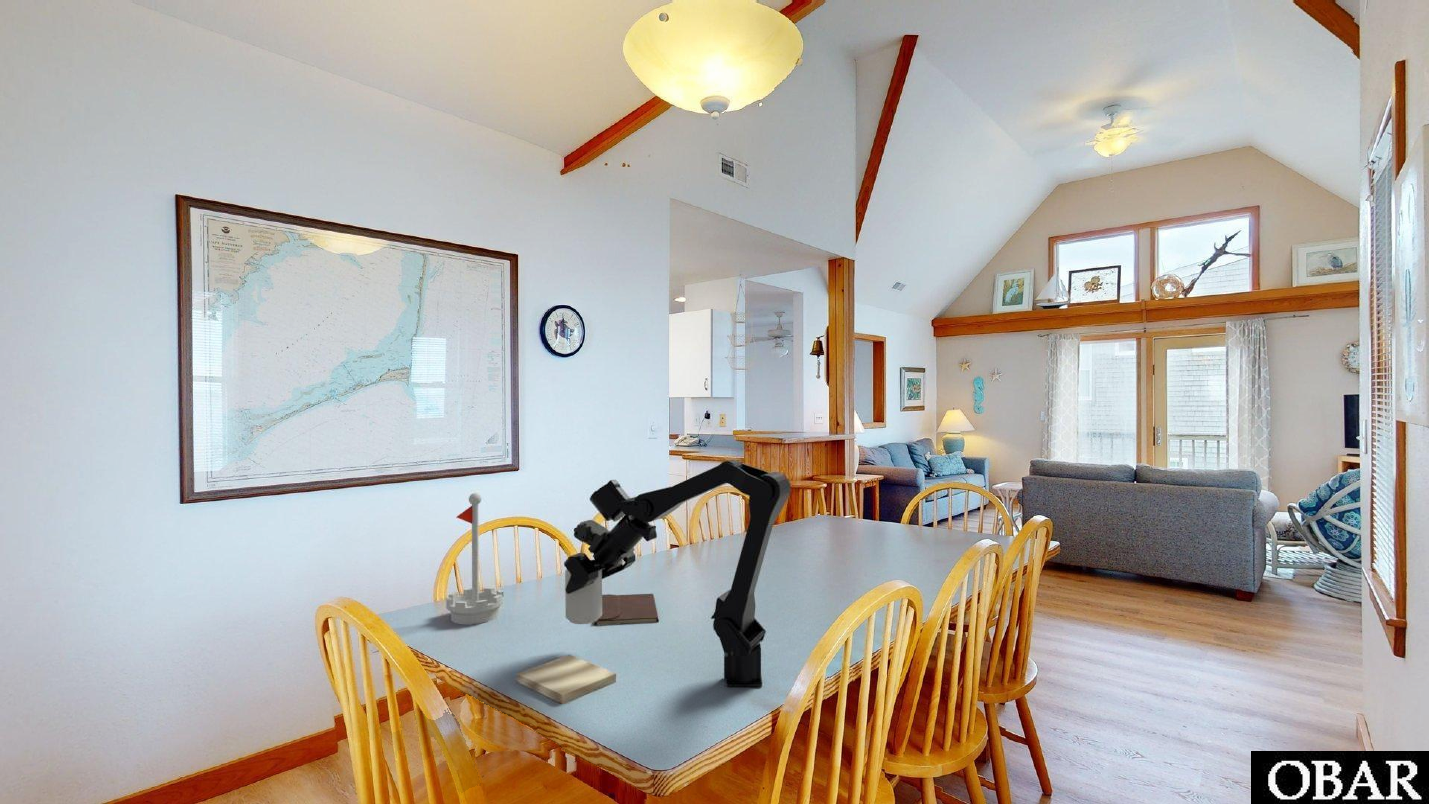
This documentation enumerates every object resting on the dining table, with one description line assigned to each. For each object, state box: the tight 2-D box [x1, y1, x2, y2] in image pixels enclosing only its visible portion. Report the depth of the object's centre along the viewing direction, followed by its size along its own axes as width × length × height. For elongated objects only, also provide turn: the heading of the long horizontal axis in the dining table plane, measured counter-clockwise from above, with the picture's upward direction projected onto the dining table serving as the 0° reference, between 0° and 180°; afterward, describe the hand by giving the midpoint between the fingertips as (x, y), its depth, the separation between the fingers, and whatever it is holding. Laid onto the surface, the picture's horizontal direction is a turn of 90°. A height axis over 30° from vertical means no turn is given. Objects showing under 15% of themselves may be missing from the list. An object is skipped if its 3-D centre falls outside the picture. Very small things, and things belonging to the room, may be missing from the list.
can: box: [564, 559, 603, 625], centre depth 138 cm, size 8×8×12 cm
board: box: [516, 654, 617, 704], centre depth 123 cm, size 14×12×2 cm
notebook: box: [593, 593, 660, 626], centre depth 165 cm, size 15×20×2 cm
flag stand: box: [445, 492, 505, 625], centre depth 161 cm, size 13×13×30 cm
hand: (578, 587), depth 139 cm, fingers closed on can, 7 cm apart
